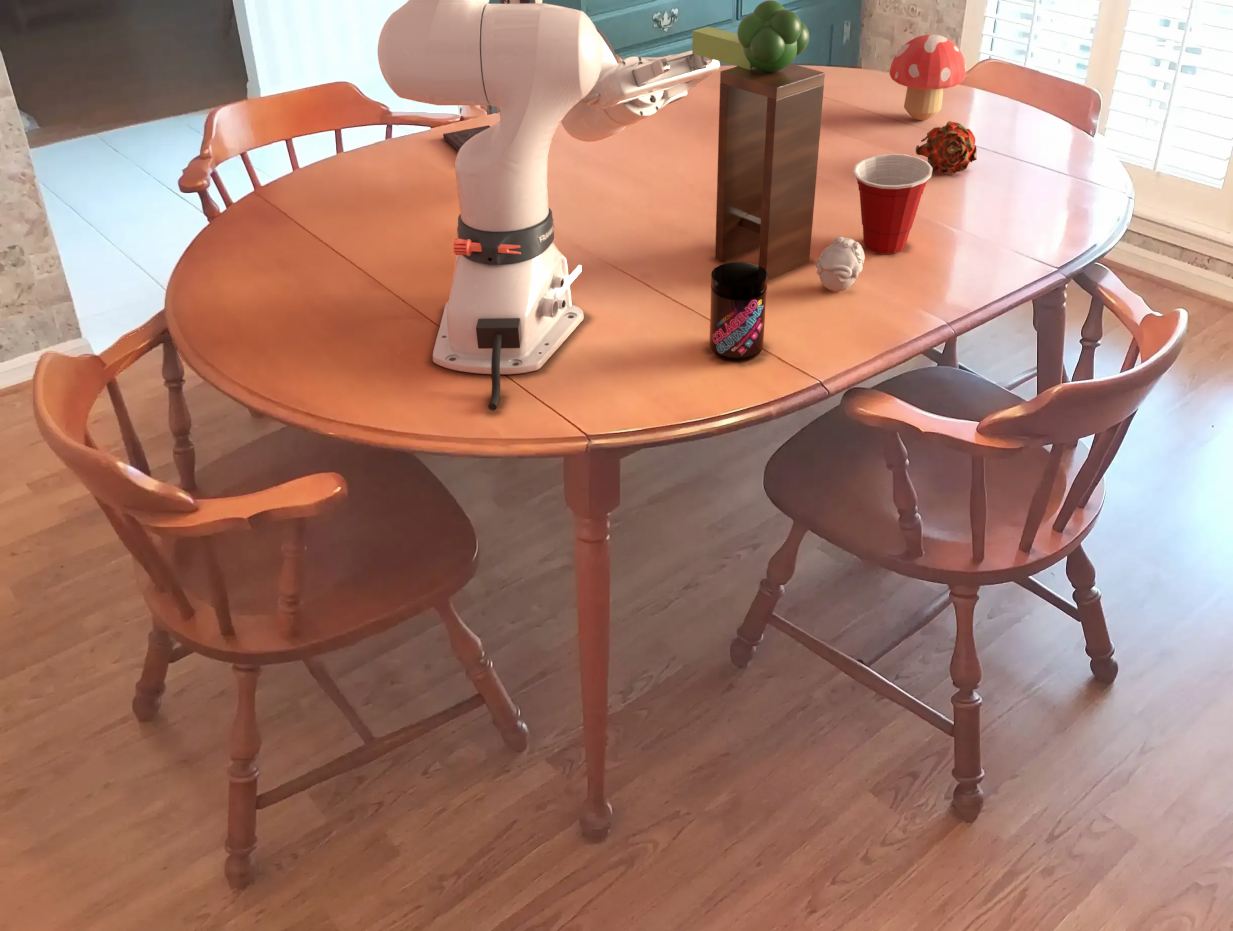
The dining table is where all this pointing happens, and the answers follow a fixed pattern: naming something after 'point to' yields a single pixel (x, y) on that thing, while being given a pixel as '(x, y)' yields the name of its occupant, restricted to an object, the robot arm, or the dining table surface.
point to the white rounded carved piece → (840, 264)
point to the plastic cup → (890, 198)
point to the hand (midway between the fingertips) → (689, 57)
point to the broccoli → (756, 39)
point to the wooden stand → (768, 164)
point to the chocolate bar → (462, 136)
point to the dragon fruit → (949, 148)
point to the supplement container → (737, 311)
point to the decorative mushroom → (927, 73)
